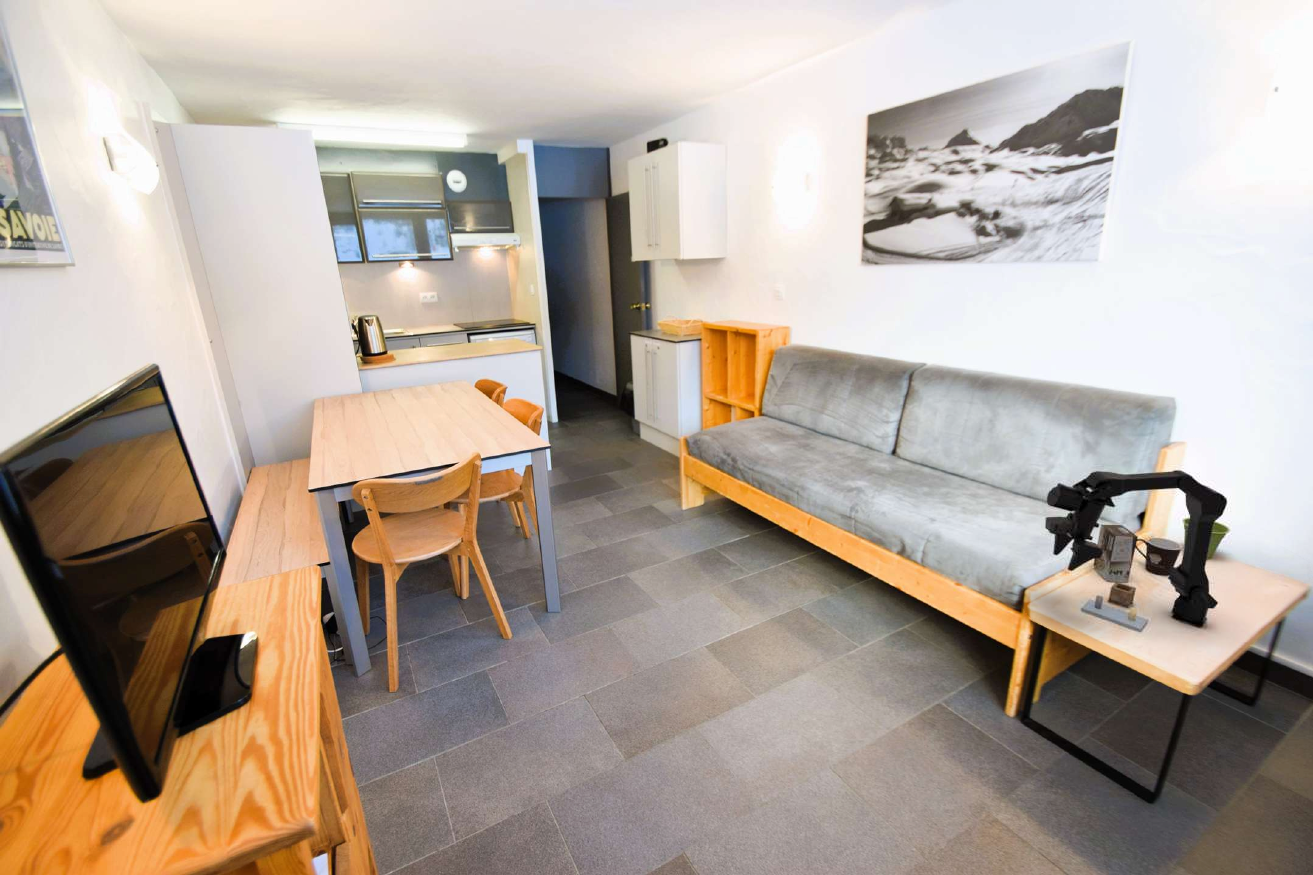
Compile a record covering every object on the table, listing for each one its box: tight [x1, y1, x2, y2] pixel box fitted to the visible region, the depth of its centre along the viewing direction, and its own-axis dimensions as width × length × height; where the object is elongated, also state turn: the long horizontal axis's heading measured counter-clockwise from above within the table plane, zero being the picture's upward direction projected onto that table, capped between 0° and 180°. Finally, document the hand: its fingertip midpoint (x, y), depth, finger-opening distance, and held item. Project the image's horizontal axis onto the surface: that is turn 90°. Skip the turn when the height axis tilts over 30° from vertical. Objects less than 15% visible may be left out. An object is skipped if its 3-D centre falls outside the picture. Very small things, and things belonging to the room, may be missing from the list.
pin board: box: [1080, 595, 1149, 633], centre depth 168 cm, size 14×7×4 cm, turn 38°
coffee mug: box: [1135, 537, 1183, 577], centre depth 191 cm, size 12×9×10 cm
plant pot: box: [1182, 517, 1231, 560], centre depth 198 cm, size 12×12×11 cm
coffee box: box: [1092, 524, 1139, 584], centre depth 188 cm, size 9×6×16 cm
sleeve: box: [1107, 582, 1137, 609], centre depth 175 cm, size 5×5×5 cm
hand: (1062, 562), depth 169 cm, fingers open, 9 cm apart
